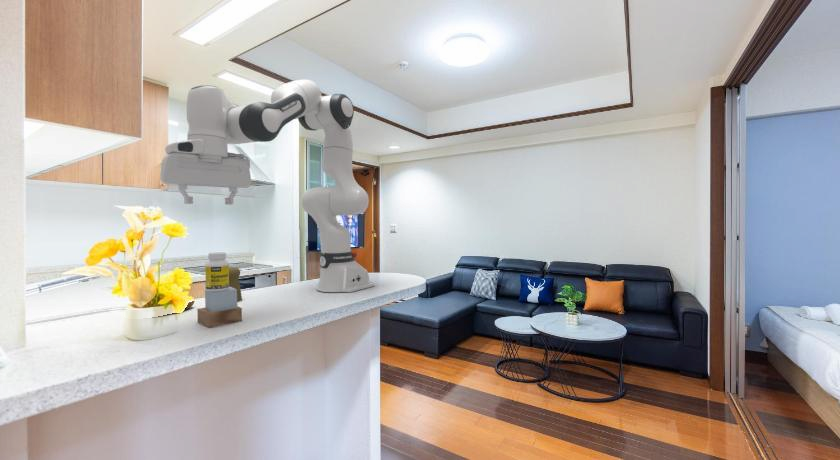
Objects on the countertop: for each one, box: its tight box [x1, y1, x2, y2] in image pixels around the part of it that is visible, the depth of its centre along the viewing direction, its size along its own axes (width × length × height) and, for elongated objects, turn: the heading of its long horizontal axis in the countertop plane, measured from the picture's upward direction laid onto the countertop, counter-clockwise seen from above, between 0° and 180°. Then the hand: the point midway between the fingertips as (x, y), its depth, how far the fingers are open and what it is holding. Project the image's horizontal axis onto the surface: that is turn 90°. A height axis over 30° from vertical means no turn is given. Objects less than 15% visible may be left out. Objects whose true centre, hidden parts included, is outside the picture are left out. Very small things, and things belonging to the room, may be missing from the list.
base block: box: [196, 305, 243, 329], centre depth 95 cm, size 8×8×4 cm
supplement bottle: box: [205, 252, 230, 292], centre depth 94 cm, size 5×5×10 cm
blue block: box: [204, 286, 238, 312], centre depth 95 cm, size 6×6×5 cm
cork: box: [229, 267, 243, 303], centre depth 119 cm, size 6×6×11 cm
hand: (209, 204), depth 92 cm, fingers open, 8 cm apart
